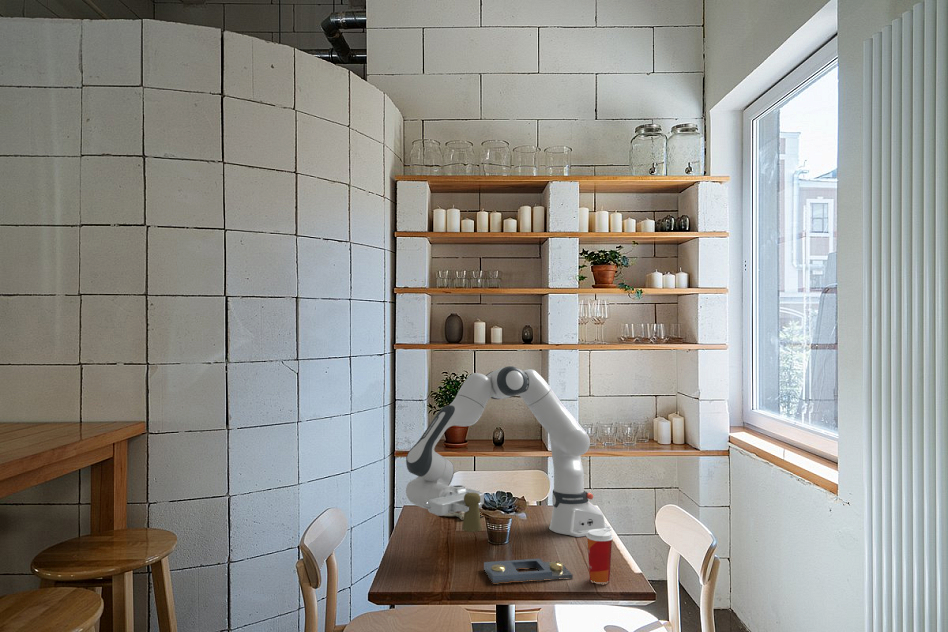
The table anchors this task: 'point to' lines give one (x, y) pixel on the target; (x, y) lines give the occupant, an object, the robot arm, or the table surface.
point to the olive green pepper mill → (472, 513)
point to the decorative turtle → (457, 514)
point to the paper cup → (599, 554)
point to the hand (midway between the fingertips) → (474, 507)
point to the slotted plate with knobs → (508, 572)
